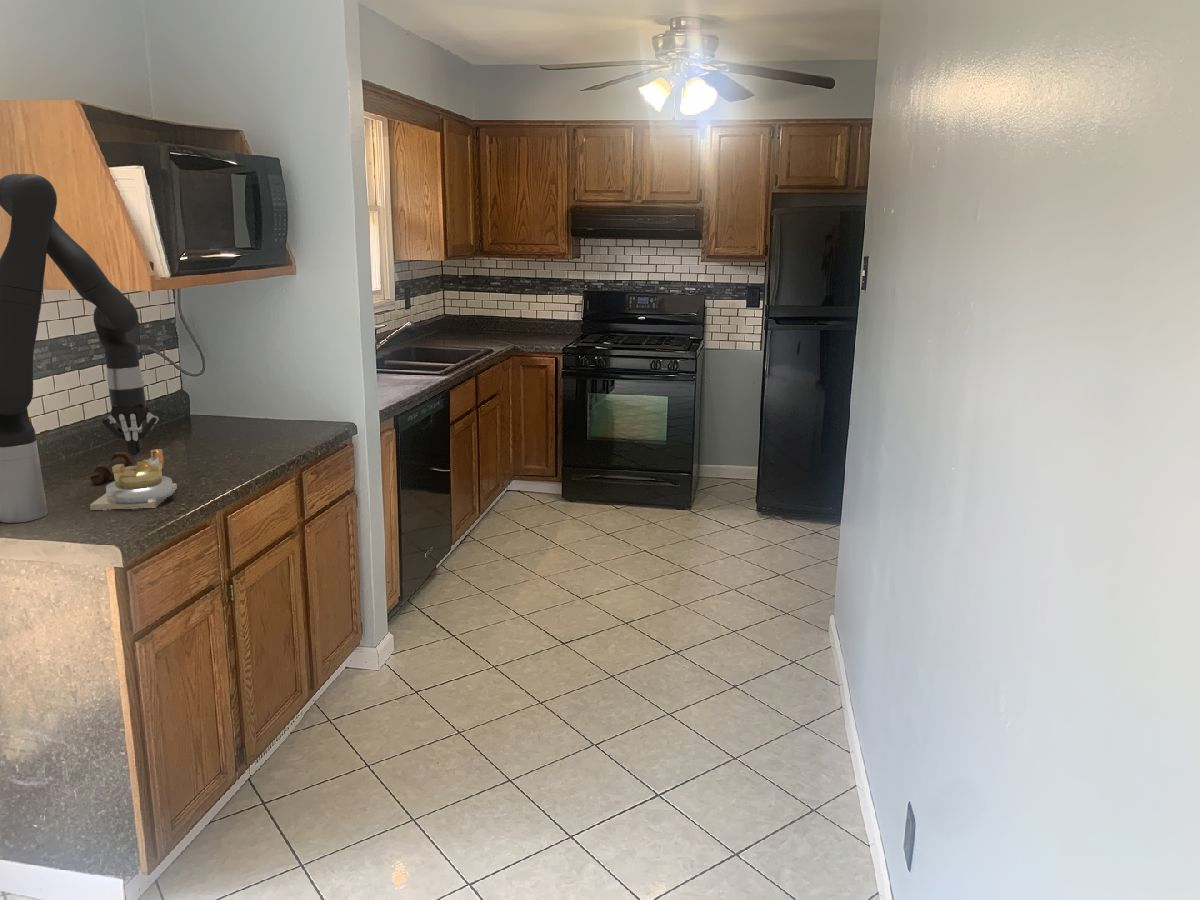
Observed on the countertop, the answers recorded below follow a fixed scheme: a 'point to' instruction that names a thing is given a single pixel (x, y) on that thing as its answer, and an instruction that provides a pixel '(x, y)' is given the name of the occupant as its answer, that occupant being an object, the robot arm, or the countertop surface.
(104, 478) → the bolt
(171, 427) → the countertop surface
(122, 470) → the yellow disc with lever
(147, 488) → the cap housing
